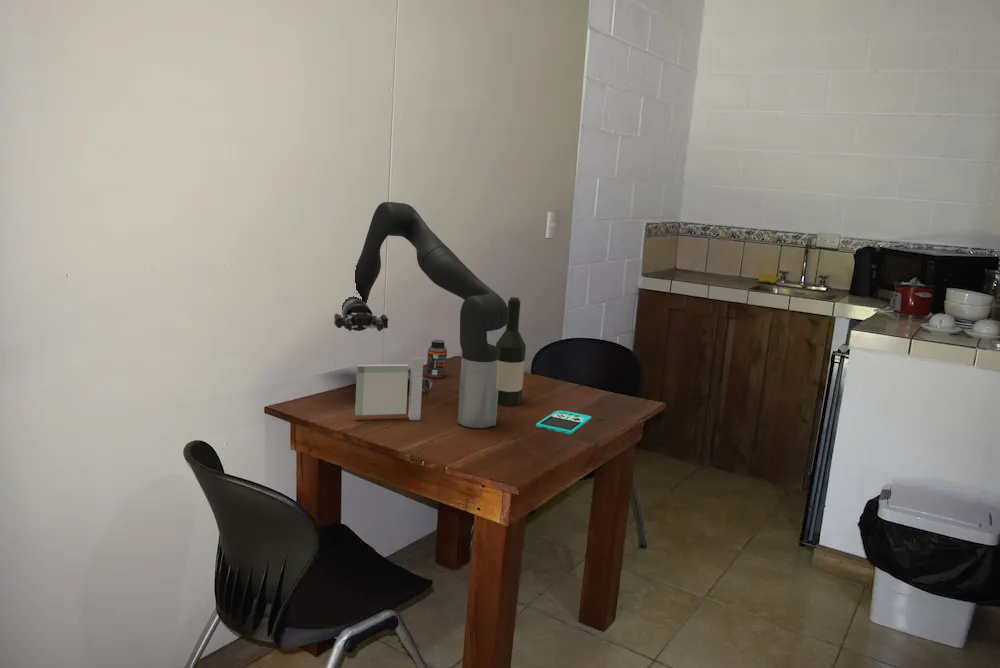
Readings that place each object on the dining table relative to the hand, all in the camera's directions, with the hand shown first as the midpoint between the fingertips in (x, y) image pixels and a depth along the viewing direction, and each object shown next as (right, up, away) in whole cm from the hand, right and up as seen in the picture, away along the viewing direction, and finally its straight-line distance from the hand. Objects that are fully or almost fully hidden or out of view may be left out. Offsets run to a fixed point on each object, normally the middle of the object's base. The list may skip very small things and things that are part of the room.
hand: (365, 327), depth 199 cm
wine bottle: (+36, -21, +20) cm, 47 cm away
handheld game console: (+52, -26, +6) cm, 58 cm away
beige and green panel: (+4, -22, -3) cm, 23 cm away
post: (+13, -24, 0) cm, 27 cm away
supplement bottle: (+15, -15, +42) cm, 47 cm away
